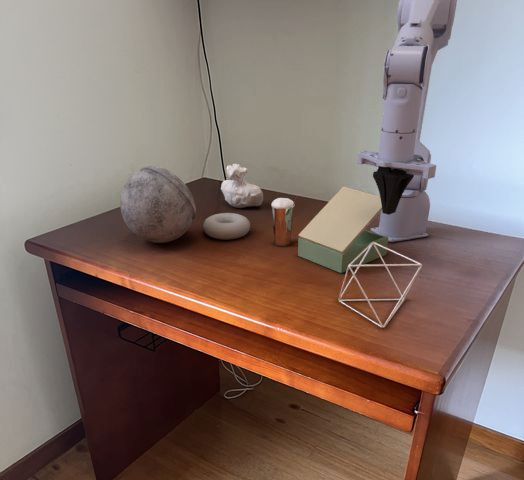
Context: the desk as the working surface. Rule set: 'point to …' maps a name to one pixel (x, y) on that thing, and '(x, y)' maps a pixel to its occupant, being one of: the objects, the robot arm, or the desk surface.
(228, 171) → the white lumpy piece
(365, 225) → the lunchbox lid
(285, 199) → the milkshake
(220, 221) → the donut
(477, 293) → the desk surface
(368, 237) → the lunchbox
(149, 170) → the decorative orb
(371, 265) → the geometric polyhedron
